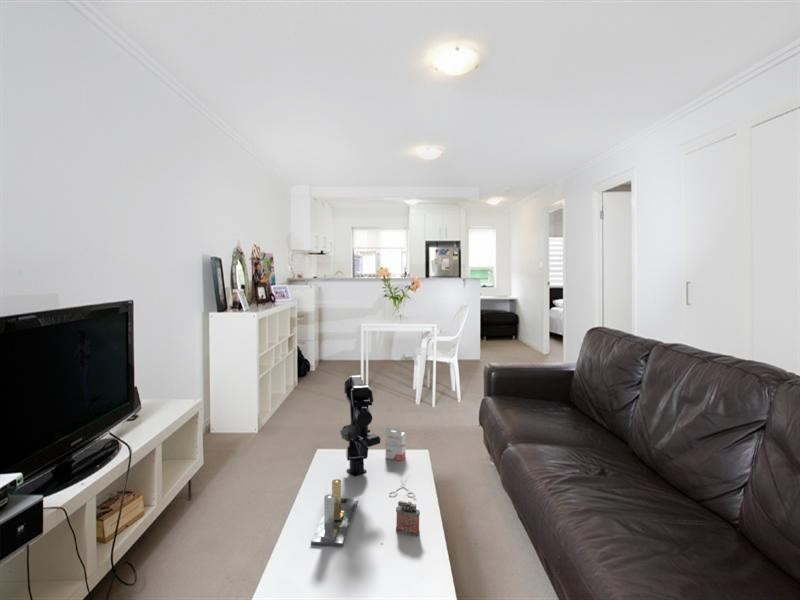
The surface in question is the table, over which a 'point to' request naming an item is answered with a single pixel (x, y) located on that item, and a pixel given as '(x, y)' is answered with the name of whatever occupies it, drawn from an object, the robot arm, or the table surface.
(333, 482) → the gold tapered block
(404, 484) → the scissors
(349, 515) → the bolt plate
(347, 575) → the table surface
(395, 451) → the ink cartridge box
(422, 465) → the table surface
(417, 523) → the lighter
